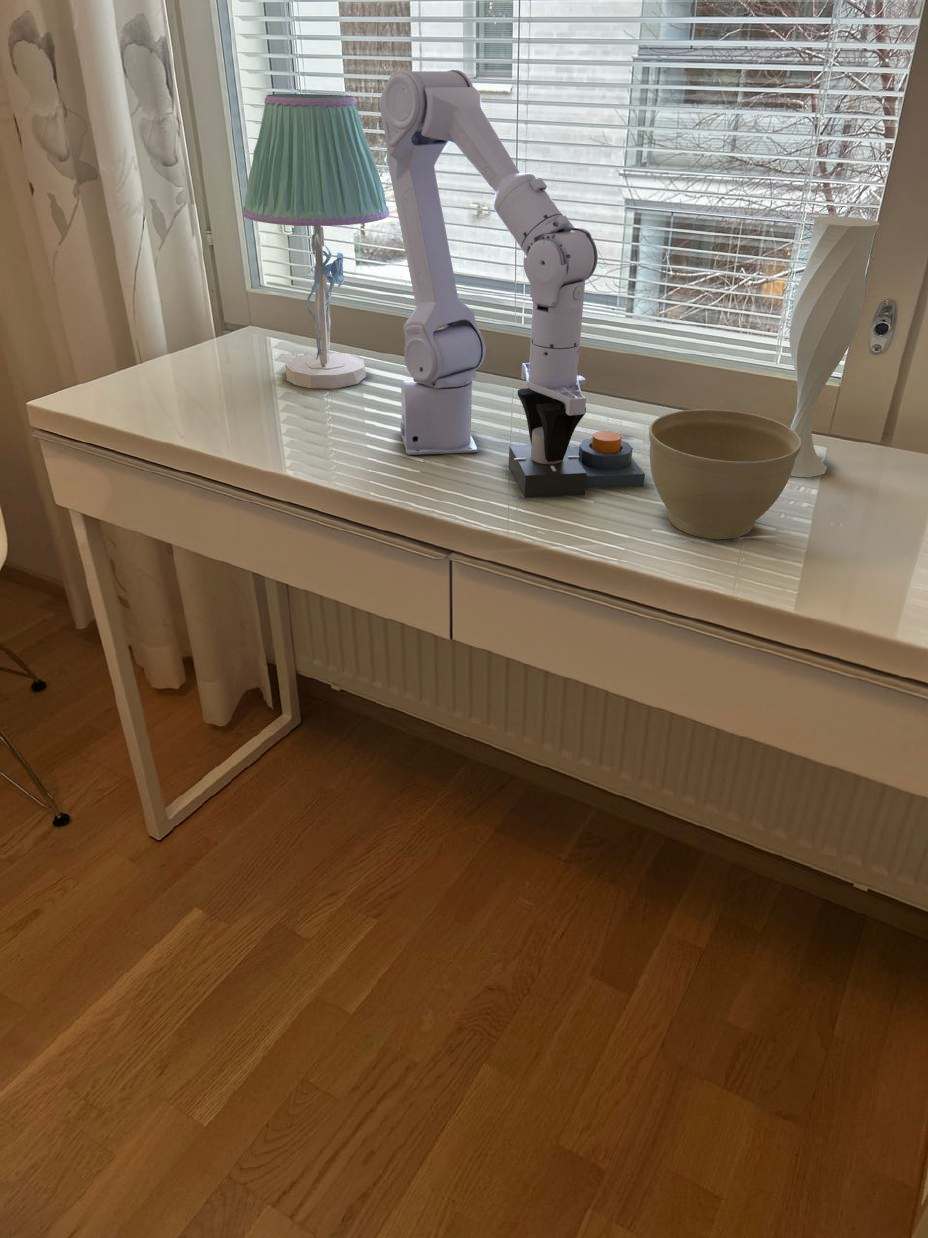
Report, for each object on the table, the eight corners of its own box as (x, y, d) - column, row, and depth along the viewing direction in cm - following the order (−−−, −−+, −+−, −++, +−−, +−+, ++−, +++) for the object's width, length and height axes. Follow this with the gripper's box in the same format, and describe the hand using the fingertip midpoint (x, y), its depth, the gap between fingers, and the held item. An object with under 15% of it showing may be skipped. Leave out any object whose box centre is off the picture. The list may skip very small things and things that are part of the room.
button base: (643, 486, 117) (647, 460, 115) (585, 489, 116) (587, 462, 114) (620, 456, 125) (622, 431, 123) (565, 458, 124) (567, 433, 122)
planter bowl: (634, 490, 115) (645, 405, 110) (768, 498, 114) (786, 412, 109) (642, 550, 102) (655, 455, 96) (794, 559, 101) (816, 464, 95)
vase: (791, 481, 119) (846, 228, 104) (746, 458, 125) (791, 217, 110) (841, 470, 123) (901, 224, 107) (794, 448, 129) (845, 213, 113)
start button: (623, 453, 117) (625, 440, 117) (595, 454, 117) (597, 441, 116) (615, 443, 120) (616, 430, 120) (588, 444, 120) (589, 431, 119)
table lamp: (387, 399, 143) (380, 101, 123) (245, 396, 143) (214, 97, 123) (397, 359, 162) (393, 94, 141) (272, 356, 162) (249, 90, 141)
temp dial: (566, 463, 115) (569, 434, 113) (534, 464, 114) (536, 435, 112) (558, 451, 118) (561, 423, 116) (527, 452, 117) (529, 424, 115)
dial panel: (587, 495, 114) (589, 471, 112) (521, 498, 113) (522, 474, 111) (567, 464, 122) (569, 441, 121) (505, 467, 121) (506, 444, 120)
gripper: (614, 356, 104) (602, 471, 111) (561, 324, 116) (553, 430, 123) (556, 361, 102) (547, 477, 109) (508, 328, 113) (503, 435, 121)
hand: (547, 453), depth 116 cm, fingers closed on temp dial, 4 cm apart
